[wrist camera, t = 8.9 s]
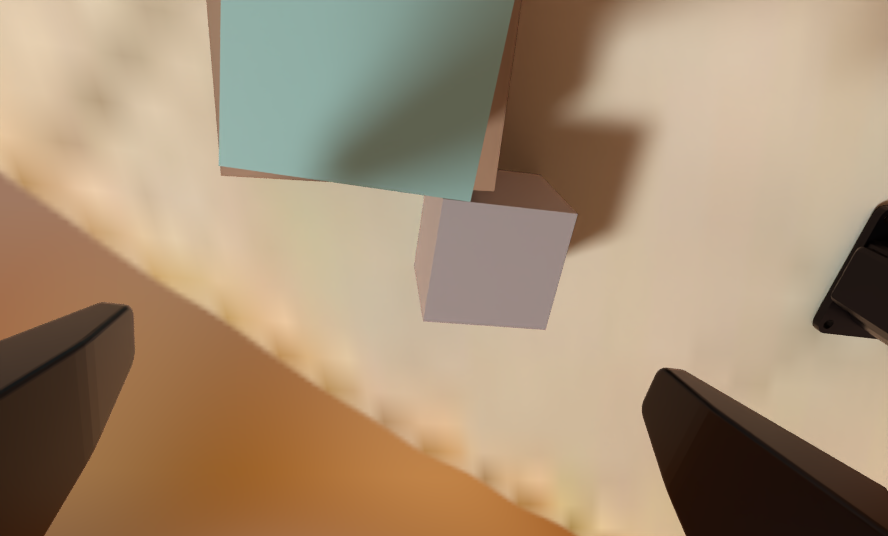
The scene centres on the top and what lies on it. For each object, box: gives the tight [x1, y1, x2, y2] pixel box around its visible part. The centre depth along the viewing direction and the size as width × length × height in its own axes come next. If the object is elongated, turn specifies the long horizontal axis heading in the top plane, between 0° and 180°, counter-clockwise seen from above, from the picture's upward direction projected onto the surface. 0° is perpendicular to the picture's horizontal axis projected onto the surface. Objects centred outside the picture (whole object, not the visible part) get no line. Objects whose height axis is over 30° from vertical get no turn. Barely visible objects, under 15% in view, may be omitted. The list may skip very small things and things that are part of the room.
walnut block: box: [206, 0, 522, 191], centre depth 16 cm, size 8×8×5 cm
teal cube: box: [219, 0, 514, 202], centre depth 12 cm, size 5×5×5 cm
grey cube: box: [414, 170, 578, 330], centre depth 20 cm, size 4×4×4 cm
